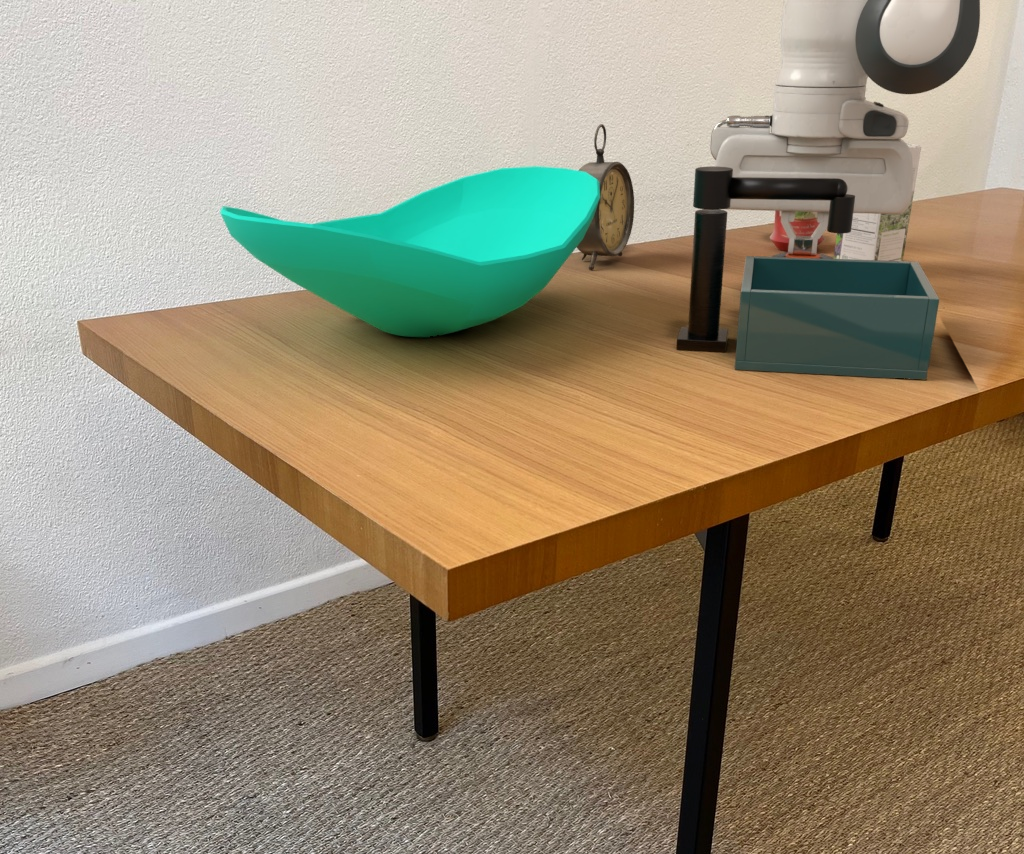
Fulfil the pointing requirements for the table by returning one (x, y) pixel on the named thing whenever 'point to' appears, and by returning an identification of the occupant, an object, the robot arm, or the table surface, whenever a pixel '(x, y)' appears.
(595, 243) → the alarm clock
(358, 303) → the table top decor
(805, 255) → the button
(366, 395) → the table surface
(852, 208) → the spout
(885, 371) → the sink
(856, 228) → the syrup box
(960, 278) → the table surface
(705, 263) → the dark post on base
